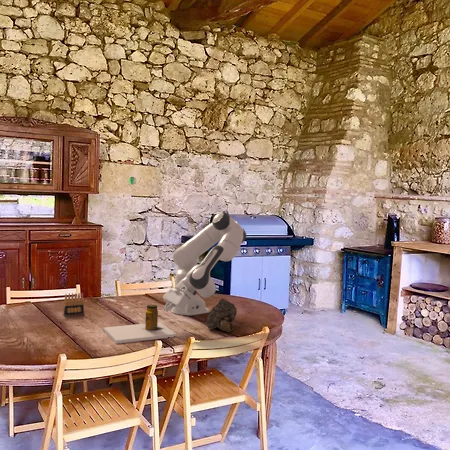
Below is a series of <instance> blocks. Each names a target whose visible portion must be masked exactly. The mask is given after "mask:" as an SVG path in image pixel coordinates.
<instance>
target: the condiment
mask: <svg viewBox="0 0 450 450" xmlns="http://www.w3.org/2000/svg"><path fill="white" fill-rule="evenodd" d="M158 319H159V311H158V305H157V304H152V303H151V304H147V305H146V310H145V321H144V324H145V328H142V329H145V330H148V331H156V330H159V329H162V328H161V327H158V326H157V324H158V322H159V321H158Z"/></svg>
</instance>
